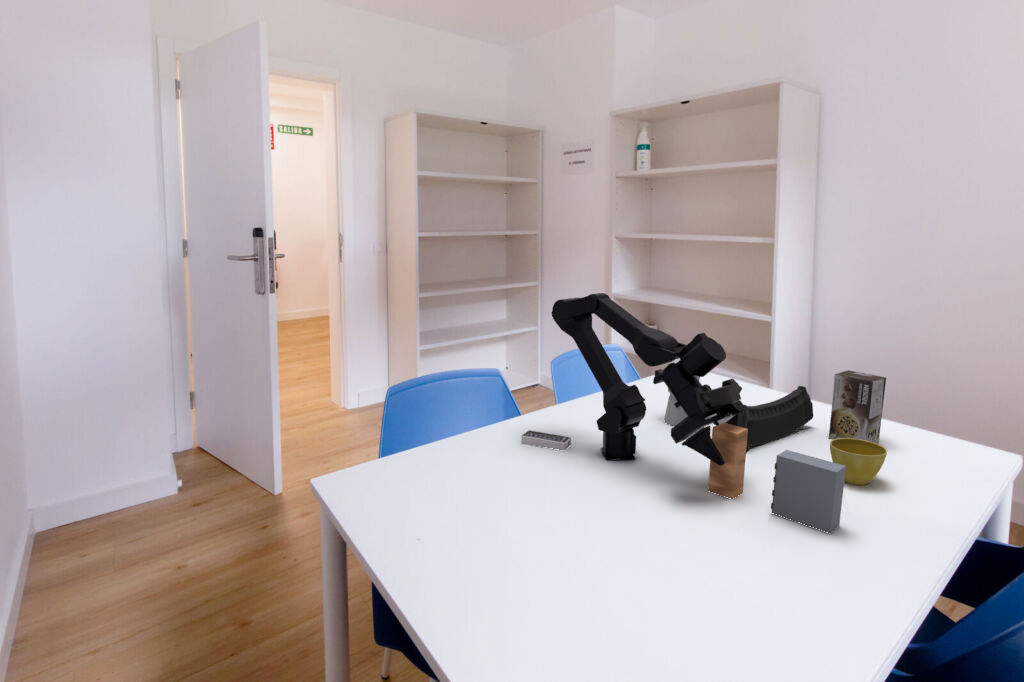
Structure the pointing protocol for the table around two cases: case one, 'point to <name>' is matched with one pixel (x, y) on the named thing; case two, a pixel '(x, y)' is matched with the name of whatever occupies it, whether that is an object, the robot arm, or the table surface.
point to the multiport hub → (546, 440)
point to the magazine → (777, 417)
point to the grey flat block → (808, 490)
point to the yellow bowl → (858, 458)
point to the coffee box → (857, 406)
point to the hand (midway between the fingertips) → (735, 458)
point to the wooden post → (728, 460)
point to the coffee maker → (674, 411)
